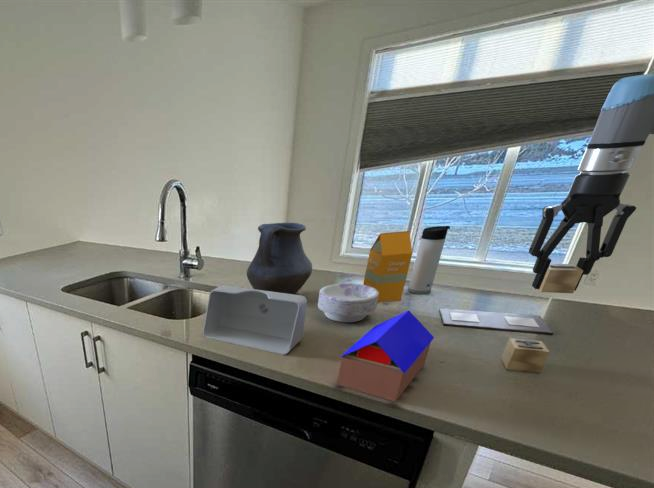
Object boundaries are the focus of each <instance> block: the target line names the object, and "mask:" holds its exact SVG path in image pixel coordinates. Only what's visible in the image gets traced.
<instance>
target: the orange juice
mask: <svg viewBox="0 0 654 488" xmlns="http://www.w3.org/2000/svg"><path fill="white" fill-rule="evenodd" d="M412 256H413V249H412V240H411V232H410V230H404V231H394V232H393V231H392V232H382V233H379V235H378V236H377V238H376V240H375V241H374V242H373V244H372V245H371V247H370V249H369V254H368V258H367V264H366V268H365V273H364V280H363V284H362V285H366V286H370V287H373V288H375V289H376V290H377V291H378V292H379V296H378V302H377V303H384V302H396V301H397V302H398V301H401V300H402V298H403V293H404V289H405V285H406V282H407V278H408V274H409V269H410V265H411V260H412Z"/></svg>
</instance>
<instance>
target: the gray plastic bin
mask: <svg viewBox="0 0 654 488" xmlns="http://www.w3.org/2000/svg"><path fill="white" fill-rule="evenodd" d="M307 305H308V300H307V298H306V297H305V296H304V295H300V294H295V295H294V294H286V293H279V292H271V291H264V290H256V289H253V288H247V287H239V286H234V285H233V286H232V285H224V284H221V285H219V286H217V287H216V288H214V289H212V290H211V291H209V294H208V300H207V305H206V309H205V310H206V311H205V317H204V323H203V328H202V335H203V337H204V338H207V339H209V340H210V339H211V340H216V341H219V342H224V343H228V344H233V345H237V346H240V347H241V346H242V347H246V348H251V349H255V350H258V351H259V350H260V351H264V352H269V353H273V354H277V355H282V356H285V355H287V354H288V353H290V352H291V351H292V350H293V349H294V348H295V346H297V345H298V343H299V342H301V341H302V340H303V336H304V328H305V321H306V312H307Z"/></svg>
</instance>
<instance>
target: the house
mask: <svg viewBox="0 0 654 488" xmlns="http://www.w3.org/2000/svg"><path fill="white" fill-rule="evenodd" d="M434 338H435V336H434V335H433V334H432V333H431V332H430V331H429V330H428V329H427V328H426V327H425V326H424V324H422V323H421V322H420V320H419V319H418V318H417V317H416V316H415V315H414V314H413V313H412V312H411V311H410V310H406V311H404V312H402V313H400V314H397V315H396V316H394V317H391V318H389V319H387V320H385V321H383V322H380V323H378V324H375V325H374V326H373V327H372V328H371V329H370V330H368V331H367V332H366V333H365V334H364V335H363V336H362V337H360V339H359V340H357V341H356V342H355V343H354V344H353V345H352V346H350V347H349V348H348V349H347V350H346V351H344V352H343V353H342V355H340V356H339V357H340V358H341V360H340V366H339V370H338V376H337V382H336V385H337V386H341V387H344V388H347V389H350V390H354V391H357V392H361V393H364V394H368V395H372V396H374V397H377V398H381V399H385V400H388V401H391V402H396V401H397V400H398V399H399V398H400V397H401V395H402V394H403V392H404V391H405V390H406V389H407V387H408V386H409V385H410V384H411V382H412V381H413V380H414V378H415V377H416V376H417V375H418V373H419V372H420V370H421V369H422V368H423V367H424V366H425V363H426V359H427V356H428V353H429V349H430V346H431V343H432V342H433V341H434Z"/></svg>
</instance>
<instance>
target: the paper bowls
mask: <svg viewBox="0 0 654 488" xmlns="http://www.w3.org/2000/svg"><path fill="white" fill-rule="evenodd" d="M378 296H379V292H378V291H377V290H376V289H375V288H373V287H370V286H366V285H363V284H359V283H346V282H345V283H334V284H329V285H326V286H323V287H322V288H321V289H320V290H319V294H318V301H317V308H318V309H319V310H320V311H321V312H324V315H325V316H326V318H328V319H329V320H331V321H334V322H339V323H356V322H360V321H362V320H364V319H365V317H366V316H367V315H371V314H373V313H374V312H375V311H376V309H377V305H378V303H379V302H378Z"/></svg>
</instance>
